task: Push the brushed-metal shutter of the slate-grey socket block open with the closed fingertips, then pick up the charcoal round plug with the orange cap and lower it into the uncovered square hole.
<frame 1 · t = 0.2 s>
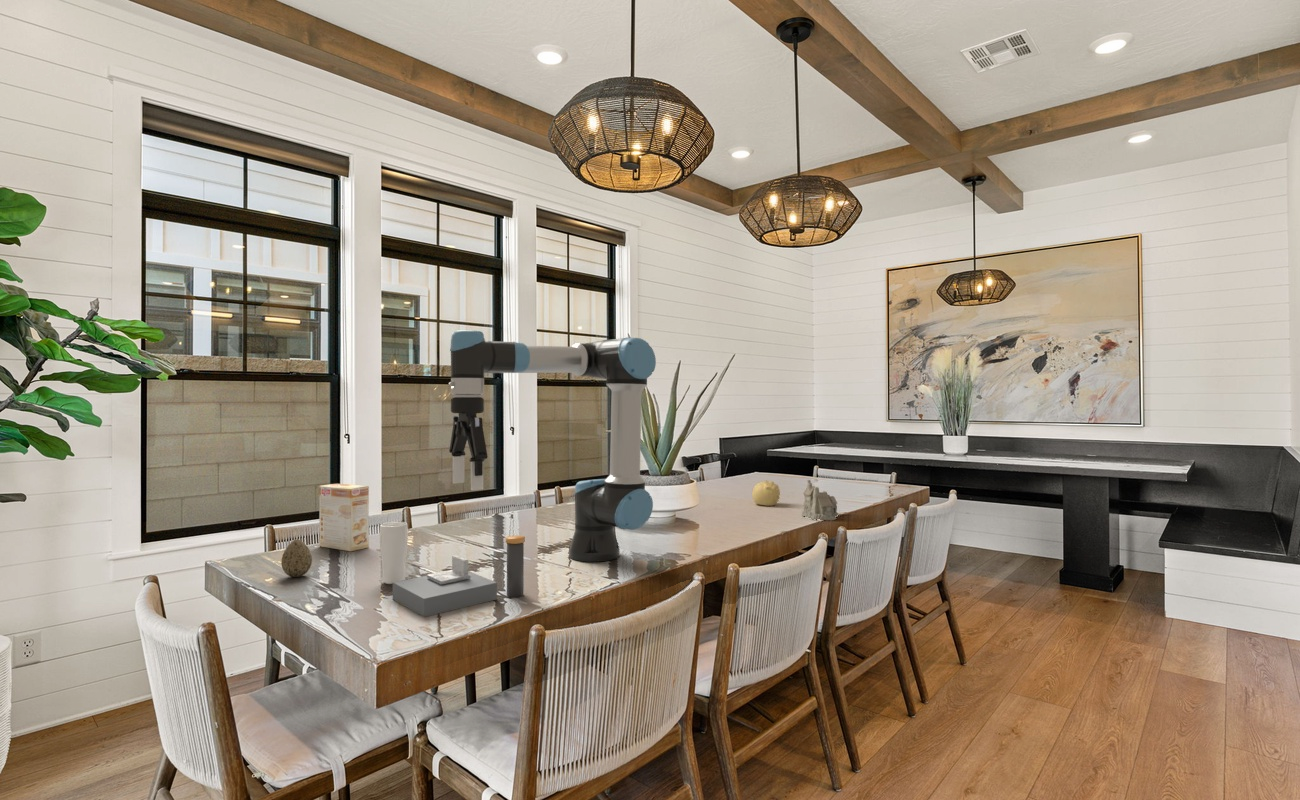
hand: (467, 486, 156), 27 cm above the table, fingers open, 13 cm apart
coffeecake box: (344, 547, 209), on the table
shutter: (448, 569, 159), point 6 cm above the table, slide at 0.0 cm
ceramic cottage: (822, 517, 262), on the table
socket block: (444, 599, 157), on the table
drinking glass: (393, 582, 171), on the table
decorative egg: (296, 577, 175), on the table
plug: (515, 595, 160), on the table
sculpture: (766, 505, 290), on the table
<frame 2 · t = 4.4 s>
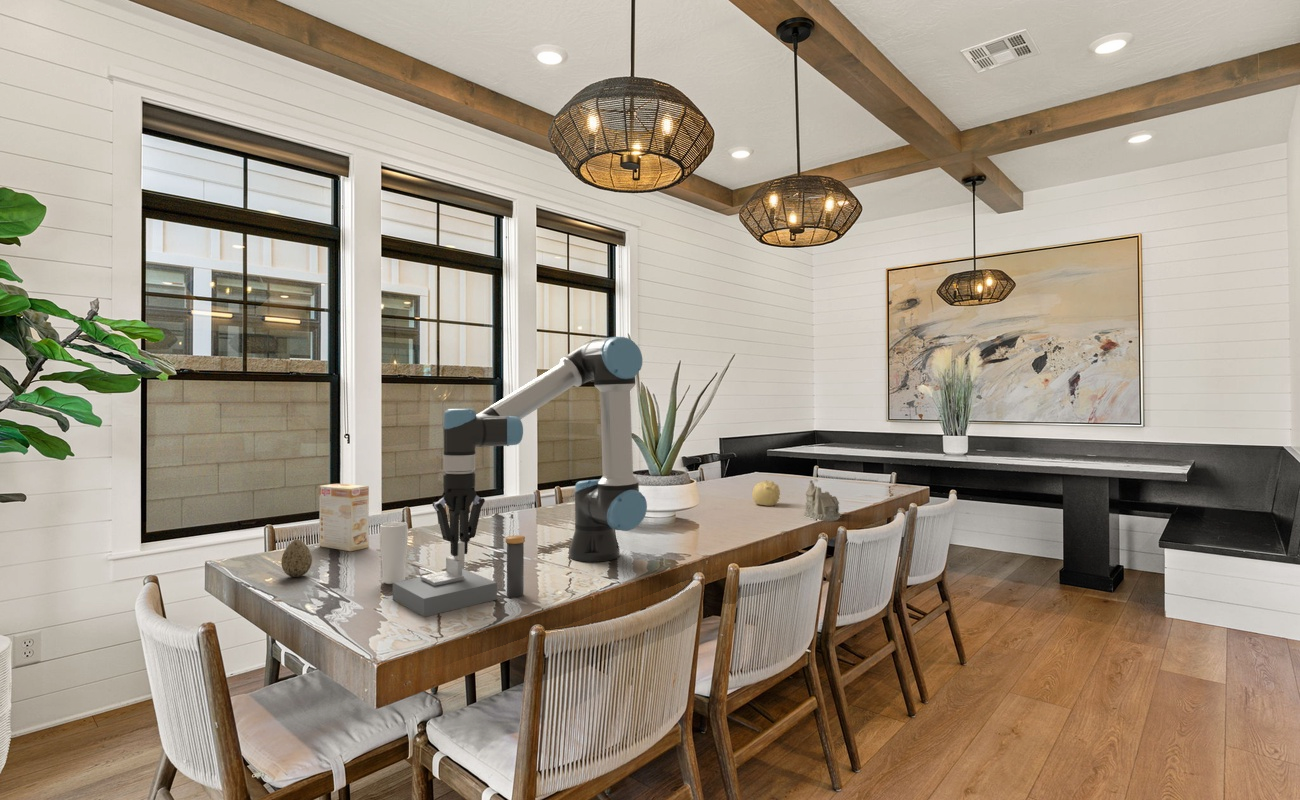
hand: (459, 568, 161), 6 cm above the table, fingers closed
shutter: (442, 570, 158), point 6 cm above the table, slide at 1.6 cm, touching gripper
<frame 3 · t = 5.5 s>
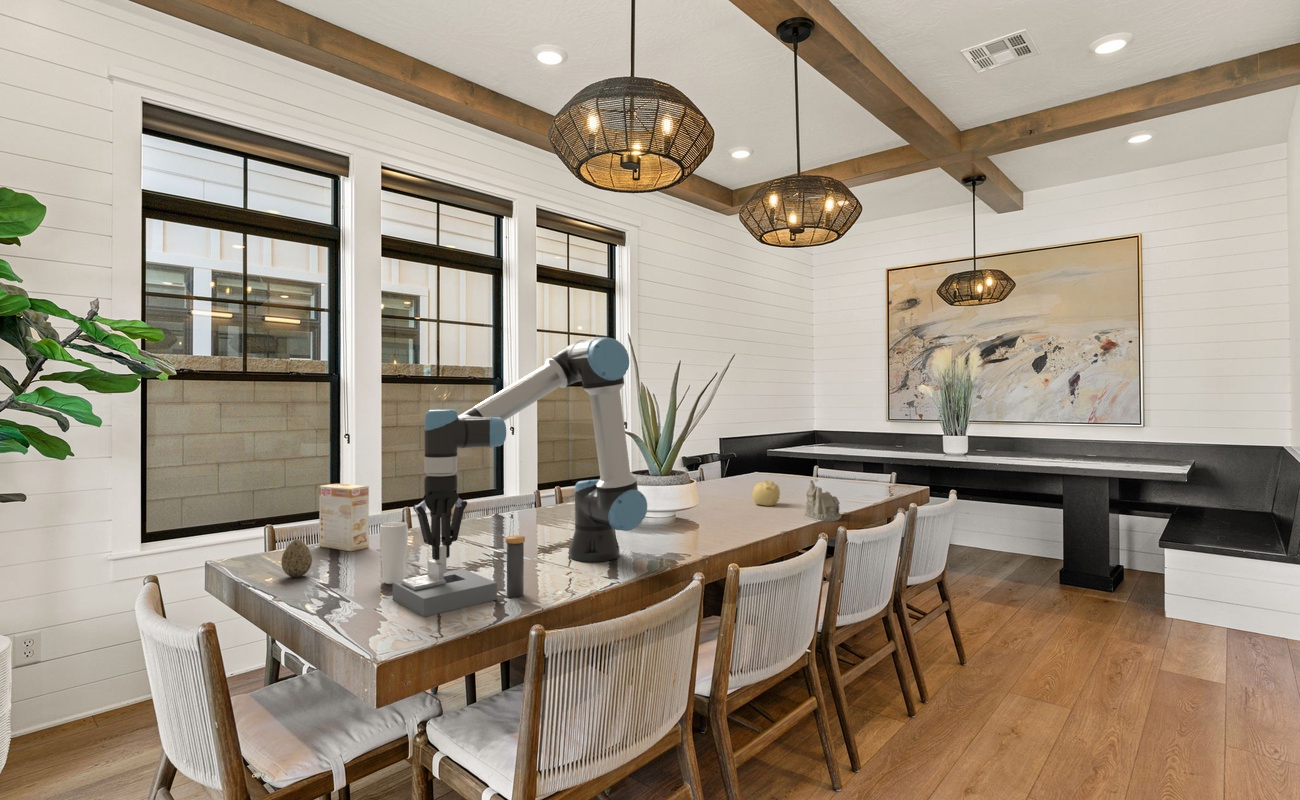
hand: (440, 572, 158), 6 cm above the table, fingers closed
shutter: (423, 574, 155), point 6 cm above the table, slide at 6.3 cm, touching gripper
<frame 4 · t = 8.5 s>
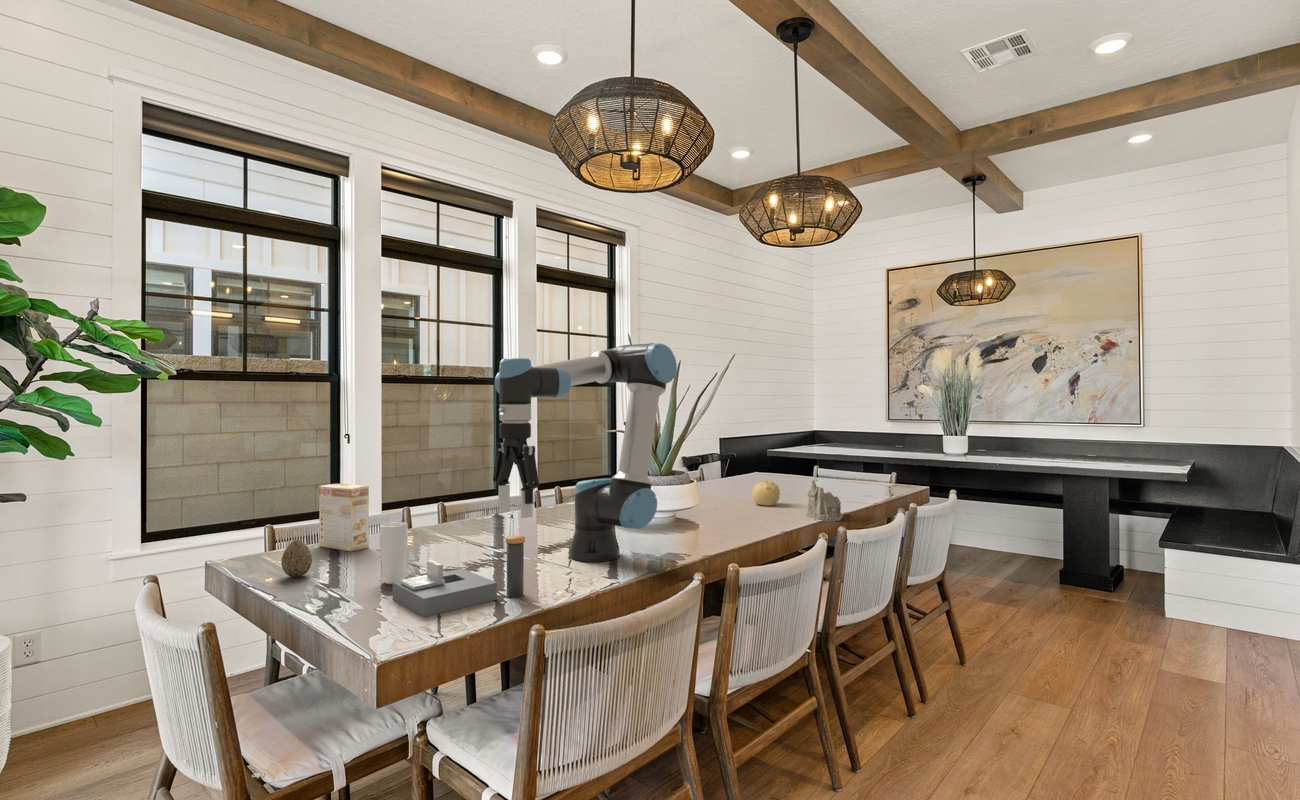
hand: (515, 514, 160), 20 cm above the table, fingers open, 9 cm apart
shutter: (422, 574, 155), point 6 cm above the table, slide at 6.5 cm
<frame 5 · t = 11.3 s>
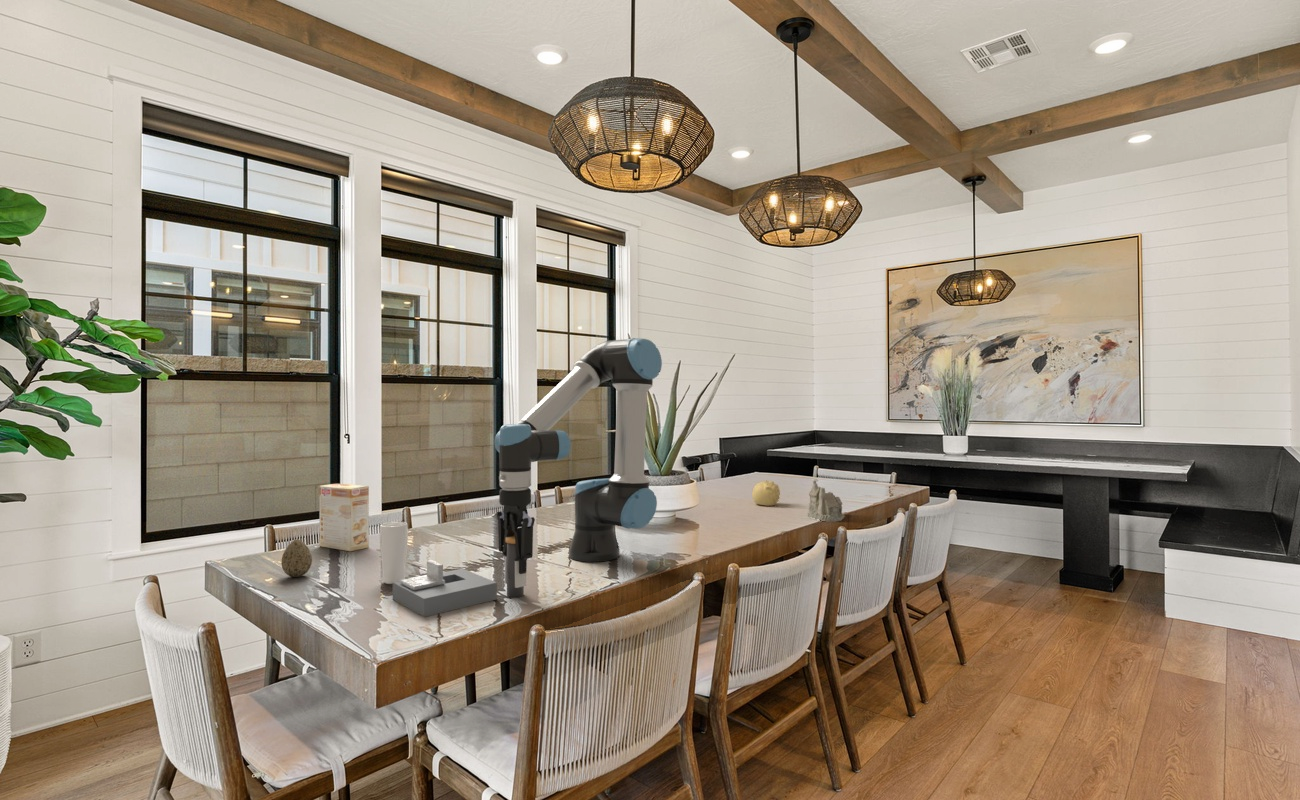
hand: (515, 584, 160), 3 cm above the table, fingers closed on plug, 4 cm apart
plug: (515, 594, 160), on the table, touching gripper
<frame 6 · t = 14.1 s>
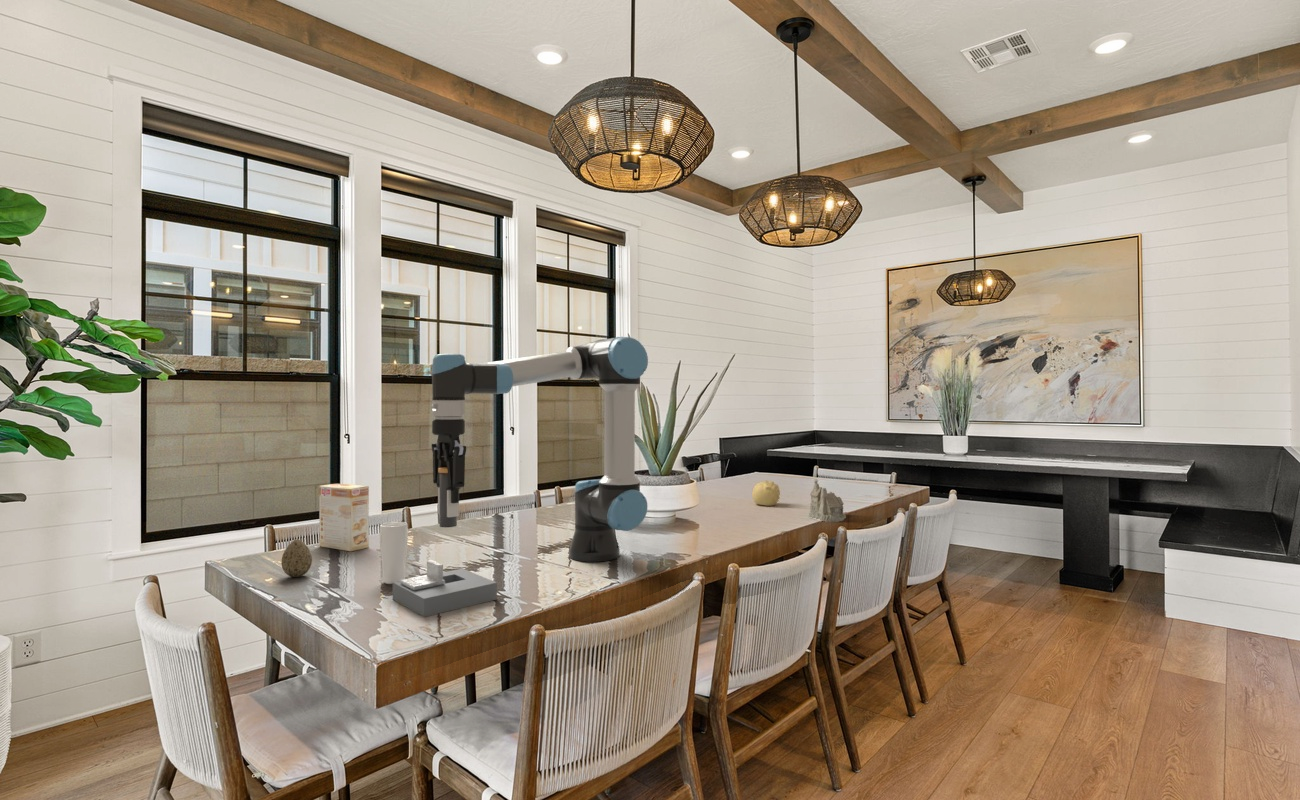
hand: (448, 514, 159), 20 cm above the table, fingers closed on plug, 4 cm apart
plug: (448, 525, 159), point 17 cm above the table, touching gripper
when the fingers open (5 cm above the table, at t = 16.9 s): plug drops 1 cm, resting in socket block.
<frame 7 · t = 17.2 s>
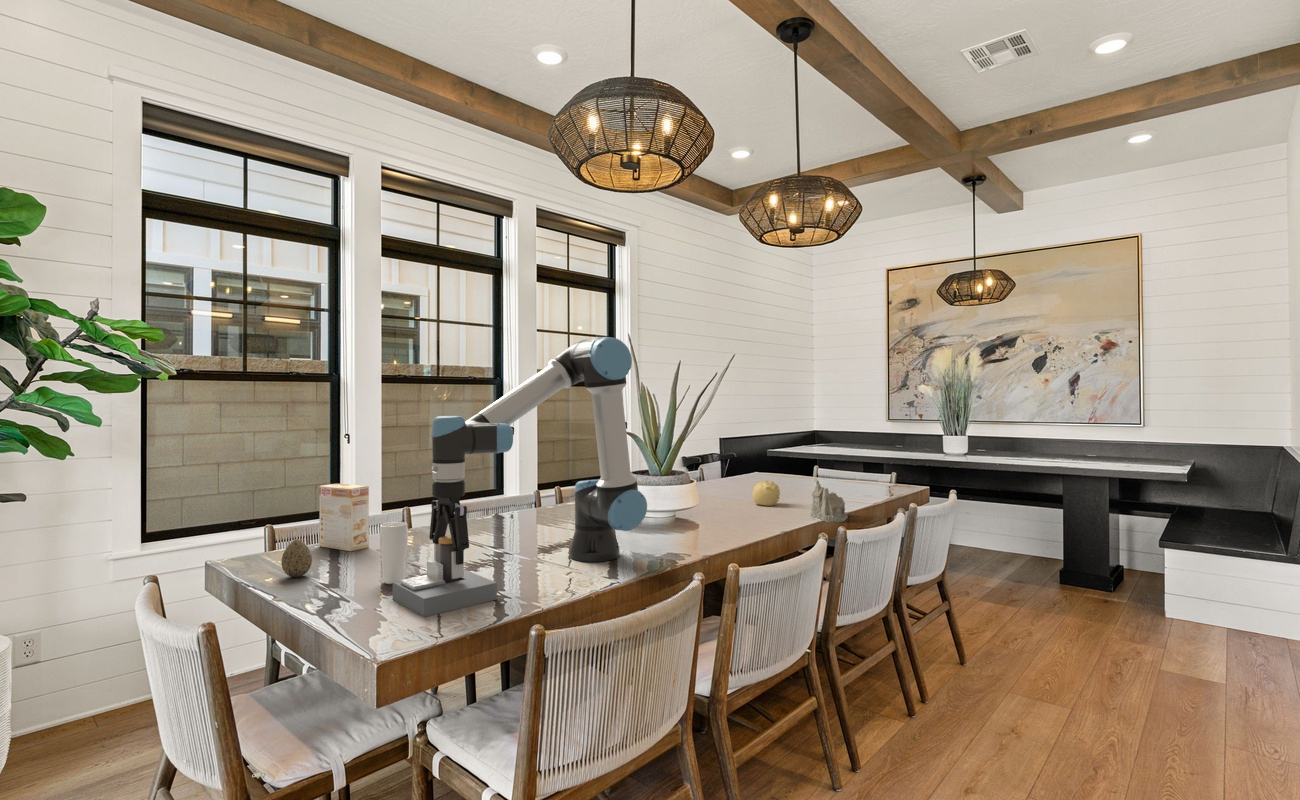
hand: (448, 573, 159), 5 cm above the table, fingers open, 8 cm apart
plug: (448, 595, 159), resting in socket block
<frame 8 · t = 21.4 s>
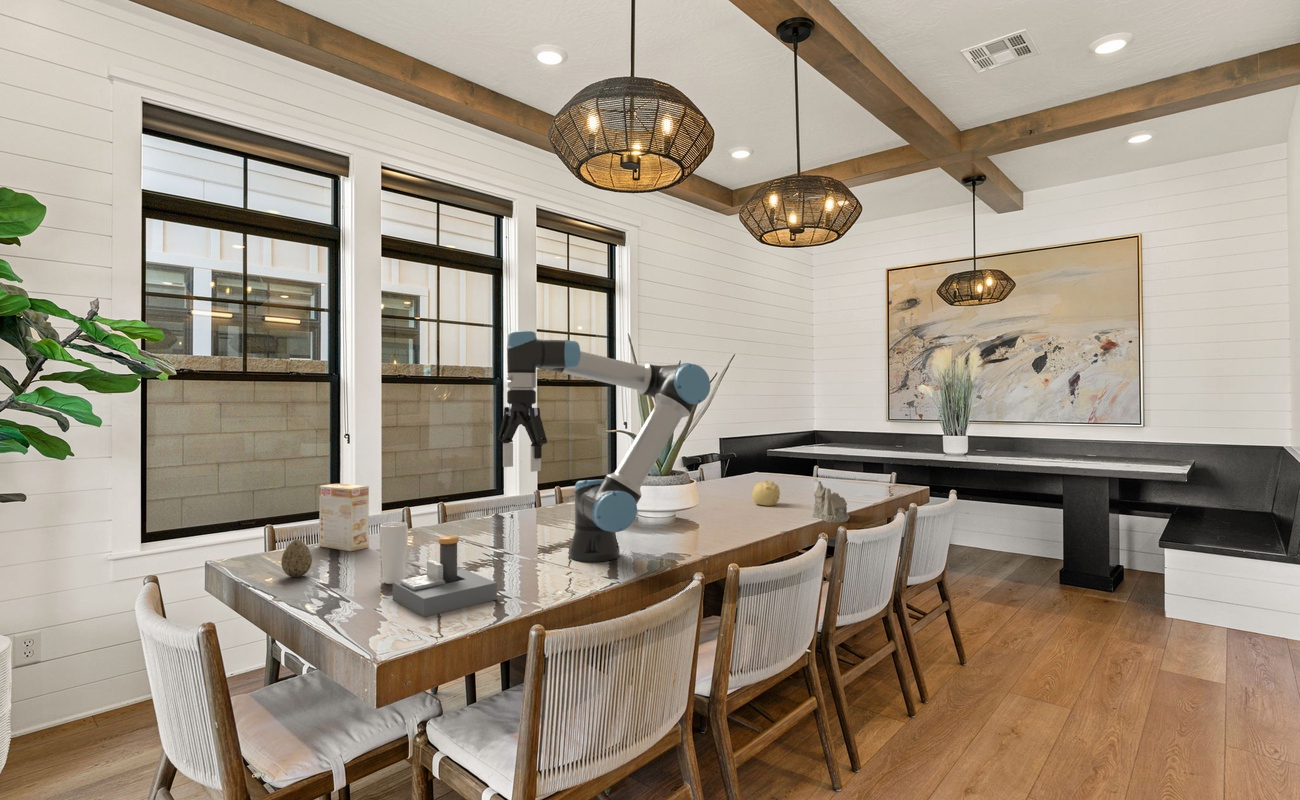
hand: (521, 469, 176), 29 cm above the table, fingers open, 13 cm apart
at the end: plug 0.0 cm from the target spot, resting in socket block; plug tilted 0°; shutter slide at 6.5 cm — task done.
